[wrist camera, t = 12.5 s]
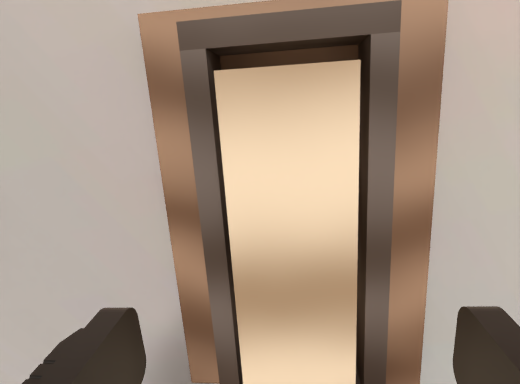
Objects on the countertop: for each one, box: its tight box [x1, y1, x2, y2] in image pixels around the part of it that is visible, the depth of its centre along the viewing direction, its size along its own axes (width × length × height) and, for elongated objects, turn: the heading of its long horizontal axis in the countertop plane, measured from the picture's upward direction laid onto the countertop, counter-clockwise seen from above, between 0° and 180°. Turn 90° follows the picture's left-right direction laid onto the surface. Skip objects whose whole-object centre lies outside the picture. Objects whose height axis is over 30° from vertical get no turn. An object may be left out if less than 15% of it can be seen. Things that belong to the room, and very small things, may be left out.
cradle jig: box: [138, 0, 448, 384], centre depth 16 cm, size 20×13×4 cm, turn 4°
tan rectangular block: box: [214, 60, 361, 384], centre depth 14 cm, size 14×4×6 cm, turn 4°
